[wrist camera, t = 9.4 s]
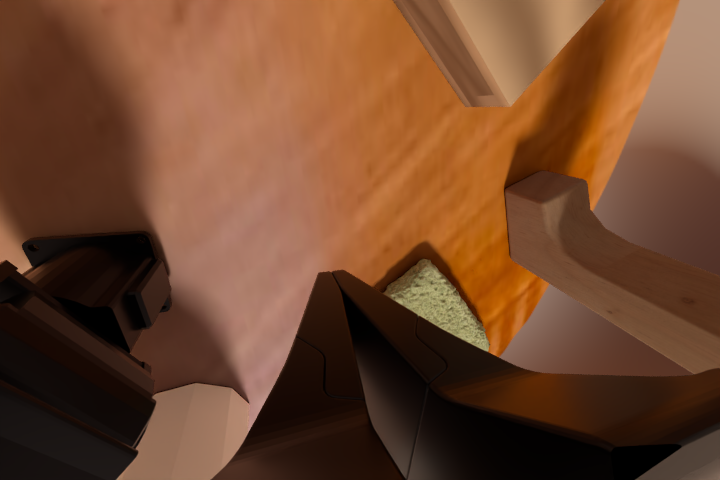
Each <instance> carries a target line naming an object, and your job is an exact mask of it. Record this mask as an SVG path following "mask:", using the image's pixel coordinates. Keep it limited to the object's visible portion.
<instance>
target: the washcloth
mask: <svg viewBox="0 0 720 480" xmlns="http://www.w3.org/2000/svg"><path fill="white" fill-rule="evenodd" d="M383 294H385V295H386V296H388V297H390V298H391V299H393V300H395V301H396V302H398V303H400V304H401V305H403V306H405V307H406V308H408V309H409V310H411V311H413V312H414V313H416V314H418V316H421V317H423V318H425V319H426V320H428V321H429V322H431V323H433V324H435V325H436V326H438V327H440V328H442V329H443V330H445V331H447V332H449V333H451V334H453V335H455V336H457V337H459V338H461V339H462V340H464V341H466V342H468V343H470V344H472V345H474V346H476V347H478V348H480V349H482V350H485V351H487V352H488V348H489V346H490V344H489V342H488V339H487V337H486V334H485V333H484V332H485V328H484V327H483V326H482V323H480V322H479V321H477V318H476V317H475V316H474V315H473V314H472V311H470V309H469V308H468V306H467V305H466V303H465V302H464V300H463V299H462V298H461V297H460V295H459V292H458V291H457V290H456V288H455V287H454V286H453V285H452V284H451V283H450V282H449V281H448V279H447V278H446V277H445V276H444V275H443V273H440V272H439V270H438V268H437V267H436V266H435V265H433V264H432V263H431V260H427V259H421V260H420V261H419V262H418V263H417V264H416V265H414V266H413V267H411V269H410V270H408V271H407V272H406V273H405V274H404V275H403V276H402V277H400V278H398V279H397V281H394V282H393V283H391V284H390V285H388V287H387V290H386V291H385V292H383Z"/></svg>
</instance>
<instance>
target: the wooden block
mask: <svg viewBox="0 0 720 480" xmlns="http://www.w3.org/2000/svg"><path fill="white" fill-rule="evenodd" d="M505 201H506V212H507V224H508V235H509V247H510V257H511V259H512V260H513V261H514V262H516V263H517V264H519V265H521V266H522V267H524V268H525V269H527V270H529V271H530V272H532V273H533V274H535V275H537V276H538V277H540V278H541V279H543V280H545V281H546V282H548V283H549V284H551V285H553V286H554V287H556V288H558V289H559V290H561V291H562V292H564V293H566V294H567V295H569V296H570V297H572V298H573V299H575V300H577V301H579V302H580V303H581V304H583V305H585V306H586V307H588V308H589V309H591V310H593V311H594V312H596V313H597V314H599V315H601V316H602V317H604V318H605V319H607V320H609V321H610V322H612V323H613V324H615V325H617V326H618V327H620V328H621V329H623V330H625V331H626V332H628V333H629V334H631V335H633V336H634V337H636V338H638V339H639V340H641V341H642V342H644V343H645V344H647V345H649V346H650V347H652V348H653V349H655V350H657V351H658V352H660V353H661V354H663V355H665V356H666V357H668V358H669V359H671V360H673V361H674V362H676V363H677V364H679V365H680V366H682V367H684V368H685V369H687V370H688V371H690V372H692V373H693V374H697V373H701V372H704V371H706V370H709V369H714V368H720V276H718V275H716V274H713V273H710V272H708V271H705V270H702V269H699V268H697V267H694V266H691V265H689V264H686V263H683V262H681V261H678V260H675V259H672V258H670V257H667V256H665V255H662V254H659V253H657V252H654V251H651V250H648V249H645V248H643V247H641V246H638V245H635V244H633V243H630V242H628V241H626V240H625V239H622V238H621V237H619V236H618V235H616V234H614V233H612V232H611V231H609V230H607V229H606V228H605V227H604V226H603V225H602V223H601V222H600V221H599V220H598V219H597V217H596V216H595V215H594V213H593V212H592V211H591V210H590V203H589V194H588V185H587V182H586V181H585V180H583V179H579V178H575V177H570V176H566V175H562V174H557V173H553V172H548V171H539V172H537V173H535V174H533V175H531V176H529V177H527V178H525V179H523V180H521V181H519V182H517V183H515V184H513V185H511V186H509V187H507V188H506V189H505Z"/></svg>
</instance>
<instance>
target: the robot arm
mask: <svg viewBox="0 0 720 480" xmlns="http://www.w3.org/2000/svg"><path fill="white" fill-rule="evenodd" d="M139 237H143V238H144V239H145V241H141V240H140V239H139ZM33 244H35V245H37V246H38V247H39V249H37V248H35V247H34V246H33ZM22 248H23V250H24V252H25V254H26V256H27V258H28V260H29V261H30V263H31V265H32V268H30V269H29V270H27V271H26V272H24V273H23V274H20V273H19V272H17V271H16V270H17V269H18V268H17V267H15V266H14V265H13V264H11V263H10V262H9V261H7V260H5V261H3V262H0V480H116V479H117V478H118V477H119V476H120V475H121V474H122V473H123V471H124V470H125V469H126V468H127V467H128V466H129V465H130V464H131V463H132V462H133V460H134V459H135V458H136V457H137V455H138V450H136V447H137V446H138V444H139V443H140V441H141V439H142V437H143V435H144V434H145V431H146V429H147V426H148V423H149V421H150V419H151V417H152V414H153V412H154V410H155V407H156V400H155V399H153V398H152V396H153V389H154V379H153V378H152V376H151V366H149V365H148V364H147V363H145V362H140V361H139V360H137V359H136V358H135V357H133V356H132V355H131V354H129V353H130V351H131V350H132V348H133V346H134V344H135V343H136V341H137V339H138V337H139V336H140V334H141V332H142V330H143V329H149V328H150V327H151V326H152V325H153V323H154V321H155V320H156V318H157V316H158V314H159V313H161V312H166V311H168V310H169V309H170V307H171V305H172V301H171V298H170V295H169V293H170V291H171V286H170V283H169V279H168V276H167V273H166V269H165V266H164V263H163V261H162V260H160V259H158V256H157V253H156V249H155V246H154V243H153V239H152V237H151V235H150V234H149V233H147V232H145V231H134V232H118V233H103V234H87V235H71V236H55V237H39V238H31V239H29V240H27V241H26V242H24V243H23V245H22ZM164 304H165V305H166V306H163V305H164ZM211 480H720V368H714V369H709V370H706V371H704V372H701V373H697V374H693V375H685V376H667V377H646V376H613V375H582V374H580V375H579V374H550V373H540V372H534V371H530V370H526V369H523V368H520V367H517V366H515V365H513V364H511V363H509V362H507V361H505V360H502V359H501V358H499V357H497V356H495V355H493V354H491V353H489V352H487V351H485V350H482V349H480V348H478V347H476V346H474V345H472V344H470V343H468V342H466V341H464V340H462V339H461V338H459V337H457V336H455V335H453V334H451V333H449V332H447V331H445V330H443V329H442V328H440V327H438V326H436V325H435V324H433V323H431V322H429V321H428V320H426V319H425V318H423V317H421V316H418V314H416V313H414V312H413V311H411V310H409V309H408V308H406V307H405V306H403V305H401V304H400V303H398V302H396V301H395V300H393V299H391V298H390V297H388V296H386V295H385V294H383V293H381V292H380V291H378V290H376V289H375V288H373V287H371V286H370V285H368V284H366V283H365V282H363V281H361V280H360V279H358V278H357V277H355V276H353V275H352V274H350V273H348V272H347V271H345V270H337V271H332V273H331V272H330V271H328V272H320V273H318V275H317V278H316V281H315V283H314V286H313V289H312V292H311V295H310V297H309V300H308V303H307V306H306V309H305V311H304V314H303V317H302V320H301V323H300V325H299V328H298V331H297V334H296V337H295V339H294V342H293V345H292V347H291V350H290V353H289V355H288V358H287V360H286V362H285V365H284V367H283V369H282V371H281V373H280V375H279V377H278V379H277V381H276V383H275V385H274V387H273V388H272V390H271V392H270V394H269V396H268V398H267V399H266V401H265V403H264V405H263V407H262V409H261V411H260V412H259V414H258V416H257V418H256V420H255V422H254V423H253V425H252V427H251V429H250V431H249V433H248V434H247V436H246V438H245V440H244V441H243V443H242V445H241V446H240V448H239V449H238V451H237V452H236V453H235V455H234V456H233V457H232V459H231V460H230V461H229V462H228V463H227V465H226V466H225V467H224V468H223V469H222V470H221V471H219V472H218V473H217V474H216V475H215V476H214V477H213V478H212V479H211Z"/></svg>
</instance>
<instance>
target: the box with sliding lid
mask: <svg viewBox="0 0 720 480" xmlns="http://www.w3.org/2000/svg"><path fill="white" fill-rule="evenodd" d="M393 1H394V3H395V4H396V6H397V7H398V8H399V10H400V11H401V13H402V14H403V16H404V17H405V19H406V20H407V22H408V23H409V25H410V26H411V28H412V29H413V31H414V32H415V33H416V35H417V36H418V38H419V39H420V41H421V42H422V44H423V45H424V47H425V48H426V50H427V51H428V53H429V54H430V56H431V57H432V58H433V60H434V61H435V63H436V64H437V66H438V67H439V69H440V70H441V72H442V73H443V75H444V76H445V78H446V79H447V81H448V82H449V83H450V85H451V86H452V88H453V89H454V91H455V92H456V94H457V95H458V97H459V98H460V100H461V101H462V103H463V104H464V106H465V107H511V106H512V104H513V103H514V102H515V101H516V100H517V99H518V98H519V97H520V95H521V94H522V93H523V92H524V91H525V90H526V89H527V88H528V87H529V85H530V84H531V83H532V82H533V81H534V80H535V79H536V78H537V76H538V75H539V74H540V73H541V72H542V71H543V70H544V69H545V67H546V66H547V65H548V64H549V63H550V62H551V61H552V60H553V58H554V57H555V56H556V55H557V54H558V53H559V52H560V51H561V50H562V48H563V47H564V46H565V45H566V44H567V43H568V42H569V41H570V39H571V38H572V37H573V36H574V35H575V34H576V33H577V32H578V30H579V29H580V28H581V27H582V26H583V25H584V24H585V23H586V22H587V20H588V19H589V18H590V17H591V16H592V15H593V14H594V13H595V11H596V10H597V9H598V8H599V7H600V6H601V5H602V4H603V2H604V1H605V0H393Z"/></svg>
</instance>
